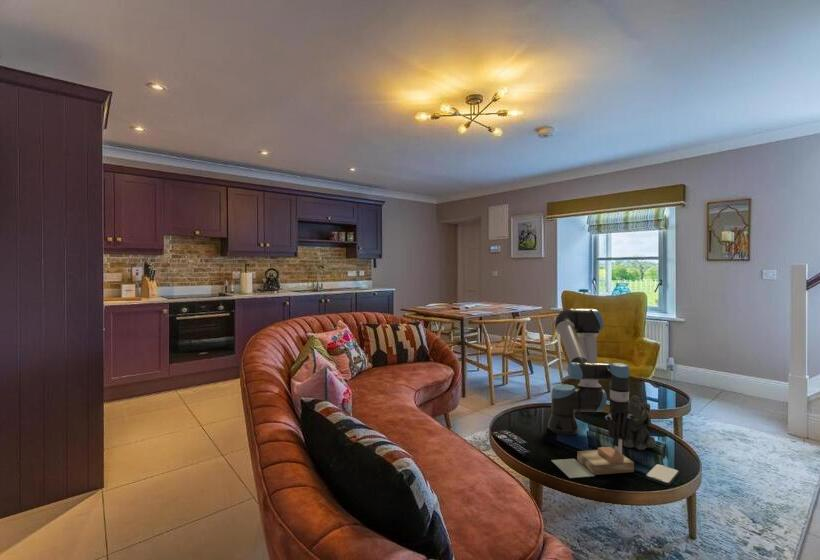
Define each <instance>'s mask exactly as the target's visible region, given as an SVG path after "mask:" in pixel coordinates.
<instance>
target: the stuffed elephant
mask: <svg viewBox="0 0 820 560" xmlns="http://www.w3.org/2000/svg"><path fill="white" fill-rule="evenodd" d="M628 401H629V410H628V411H629V414H631V415H633V416H634V418H633V420H632V422H631V426H630V430H629V434H628V437H625V438H626V439H625V440H624V442H623V446H624V447H625V448H626V449H627V448H628V449H632V448H635V449H636V450H639V451H645V450H646V448H647V449H651V448H653V447H655V445H656V439H655V438H654V437H653V436H650V435H651V434H650V432H649V429H648V427H651V426H652V419H651V416H650V410H651V405H650V404H649V403H646V402H645V403H644V402H641V398H640V397H639V396H638V395H633V396H631V397H629V400H628ZM647 425H648V427H647Z"/></svg>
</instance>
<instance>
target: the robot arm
mask: <svg viewBox="0 0 820 560" xmlns="http://www.w3.org/2000/svg"><path fill="white" fill-rule="evenodd" d="M554 328H555V331H556V333H557V334H558V335H559V336H560V339H561V341H562V345H563V347H564V351H565V352H566V355H567V359H568V360H569V362H568V364H567V368H566V369H567V375H568V377H569V378H570V379H572V380H580V381H579V383H578V384H577V388H576V387H575V386H574V385H572V384H567V383H566V384H558V385H555V386H553V388H552V389H551V394H550V395H551V397H550V398H551V414H550V417H549V420H548V422H547V429H548V428H549V429H550V430H551V431H552V433H555V434H556V433H557V435H561V436H574V435H577V434H578V433H579V425H578V422H577V420H576V414H575V413H576V412H587V413H588V412H591V413H598V412H599V413H600V412H603V411H604V410H605V408H606V406H607V400H608V399H607V393H606V391H605V389H603V388H602V387H603V386H602V385H601V384H600V383H599V381H600V380H601V381H608V382H609V398H610V399H609V413H608V414H607V415H606V414H605V415H604V416H603V417H604V420H605V423H606V426H607V431H608V435H609V437H611V438H613V445H614V449H615V450H616V451H617V452H619V453H620V454H622V455H623V446H624V445H623V442H624V440H625V439H626V438H625V437H628V434H629V430H630V426H631V422H632V420H633V418H634V416H633V415H631V414H629V411H628V410H629V401H630V377H631V376H630V375H631V372H630V366H629V365H628V364H625V363H621V362H611V361H605V360H604V361H602V362H598V345H597V338H598V337H597V336H599V335H600V331H602V330H603V328H604V320H603V316H602V314H601V312H600V311H599V310H598V309H595V308H572V307H571V308H566V309H564V310H562V311H560V312H559V313H558V314H557V316H556V318H555V321H554ZM549 429H548V430H549ZM550 430H549V431H550ZM551 431H550V432H551Z"/></svg>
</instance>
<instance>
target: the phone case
mask: <svg viewBox="0 0 820 560" xmlns="http://www.w3.org/2000/svg"><path fill="white" fill-rule="evenodd" d="M679 475H680V471H679V469H678V470H677V469H676V468H673V467H669V466H666V465H662V464H659V463H657V464H655V465H654V466H653V467H652V468H650V469H649V471H648V472H647V473H646V474H645V479H646V480H648V481H651V482H655V483H657V484H661V485H664V486H666V487H670V486H671V485H672V483H674V481H675V480H676V478H678V476H679Z"/></svg>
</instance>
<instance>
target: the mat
mask: <svg viewBox="0 0 820 560" xmlns="http://www.w3.org/2000/svg"><path fill="white" fill-rule="evenodd" d="M551 462H552V463H553V464H554V465H555V466H556V468H558V469H559V470H560V471H561V472H563V474H564V475H566V477H568V478H569V479H576V478H590V477H595V475H594V474H593V473H592V472H591V471H590V470H588V469H587V468H586V467H585V466H584V465H582V464H581V463H580V462H579V461H578V460H577V459H575V458H565V459H562V458H561V459H551Z"/></svg>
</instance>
